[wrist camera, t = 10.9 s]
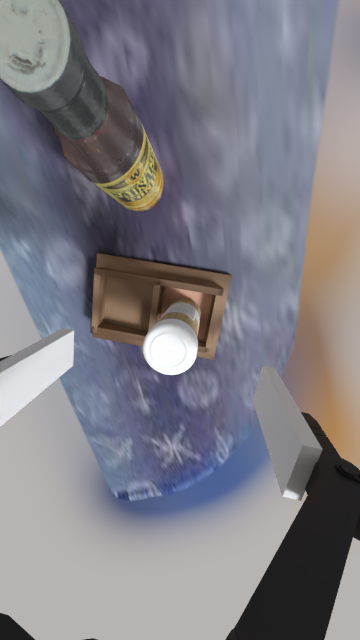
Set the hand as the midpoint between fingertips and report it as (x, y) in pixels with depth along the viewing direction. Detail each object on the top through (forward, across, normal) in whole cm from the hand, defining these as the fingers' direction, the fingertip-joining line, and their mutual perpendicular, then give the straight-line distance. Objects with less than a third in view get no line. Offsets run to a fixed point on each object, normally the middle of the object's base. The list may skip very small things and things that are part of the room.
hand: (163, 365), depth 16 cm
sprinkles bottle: (+16, 0, 0) cm, 17 cm away
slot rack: (+17, -4, 0) cm, 18 cm away
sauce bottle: (+18, -8, +14) cm, 24 cm away
